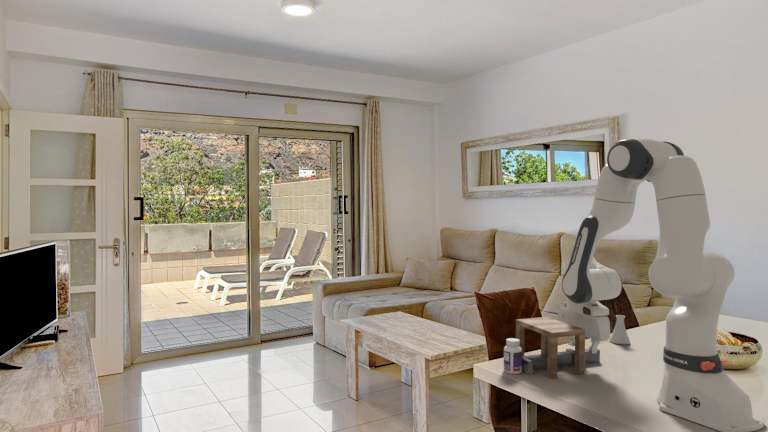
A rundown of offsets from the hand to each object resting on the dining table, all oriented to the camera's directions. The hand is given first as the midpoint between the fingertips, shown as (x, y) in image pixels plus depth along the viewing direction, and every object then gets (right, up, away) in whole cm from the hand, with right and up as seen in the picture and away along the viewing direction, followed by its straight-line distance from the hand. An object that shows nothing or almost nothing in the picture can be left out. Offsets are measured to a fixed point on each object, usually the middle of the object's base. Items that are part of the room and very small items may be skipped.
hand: (582, 349), depth 159 cm
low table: (-12, -5, -3) cm, 13 cm away
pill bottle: (-24, -5, -7) cm, 26 cm away
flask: (+24, -5, +26) cm, 36 cm away
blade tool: (-8, -5, -2) cm, 9 cm away
